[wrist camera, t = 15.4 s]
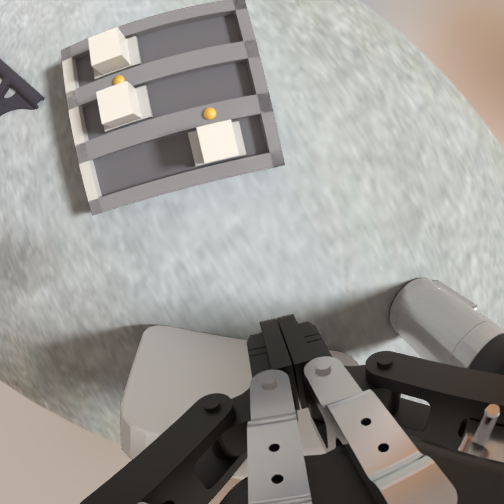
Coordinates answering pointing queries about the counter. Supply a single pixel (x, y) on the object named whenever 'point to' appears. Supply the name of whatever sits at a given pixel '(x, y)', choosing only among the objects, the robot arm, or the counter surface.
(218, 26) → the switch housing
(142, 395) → the grey block
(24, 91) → the bracket
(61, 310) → the counter surface
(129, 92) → the switch middle
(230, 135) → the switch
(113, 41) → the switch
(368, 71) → the counter surface
